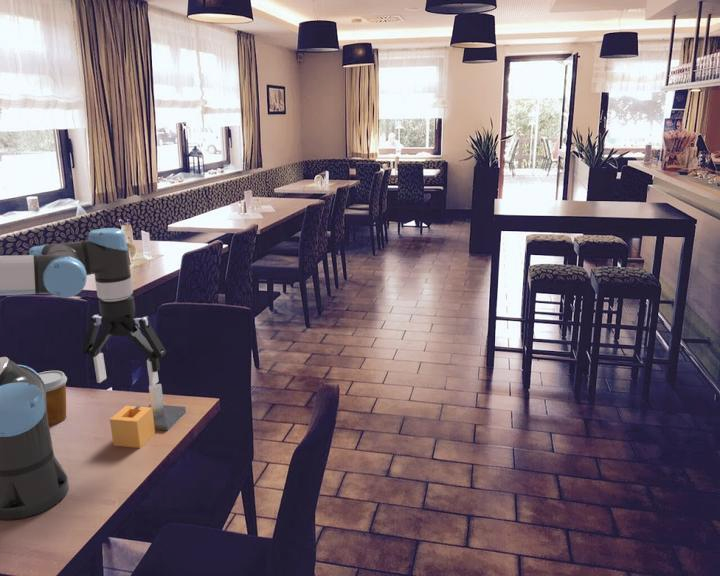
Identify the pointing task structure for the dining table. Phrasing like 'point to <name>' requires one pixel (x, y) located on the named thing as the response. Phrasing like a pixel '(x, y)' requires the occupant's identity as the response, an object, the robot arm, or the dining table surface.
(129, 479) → the dining table surface
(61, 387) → the brown jar with lid
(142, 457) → the dining table surface
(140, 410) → the orange slotted box
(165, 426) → the post plate
